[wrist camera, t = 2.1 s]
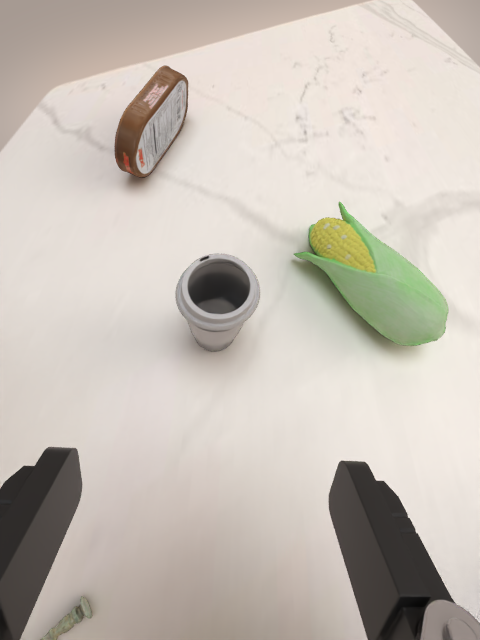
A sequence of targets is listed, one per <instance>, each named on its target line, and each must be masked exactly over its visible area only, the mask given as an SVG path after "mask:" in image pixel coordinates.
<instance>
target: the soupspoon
mask: <svg viewBox="0 0 480 640" xmlns="http://www.w3.org/2000/svg"><path fill="white" fill-rule="evenodd" d="M83 616H86V617H87V618H89V619H90V618H92V612H91V609H90V606H89V604H88V602H87V600H86V599H85V598H84V597H83V596H81V600H80V606H79V607H77V606H76V607H74V608H73V610H72V611H71V613H70V614H68V615H67V616H65V617H64V618H63V619H62V620H61V621H60V622H59V624H58V626H57V627H55V628H51V629H50V630H49V633H48V634H47V635H46V636H44V637H43V638H42V639H41V640H57V638H58V636H59V635H61V634H63V633H65V632H67V631H69V630H70V629H71V628H72V627H73V626H74V624H76V623H79V622H81V621H82V619H83Z"/></svg>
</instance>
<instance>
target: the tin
mask: <svg viewBox="0 0 480 640" xmlns="http://www.w3.org/2000/svg"><path fill="white" fill-rule="evenodd" d="M187 107H188V80H187V78H186V77H185V76H184V75H182V74H181V73H179V72H177V71H174V70H172V69H171V68H170V67H168V66H162V67H161V68H159V69H158V71H157V72H156V73H155V74H154V75H153V77H152V78H151V79H150V80H149V81H148V83H147V84H146V85H145V86H144V88H143V89H142V90H141V91H140V92H139V94H138V95H137V96H136V97H135V98H134V99H133V101H132V102H131V103H130V104H129V105H128V107H127V108H126V109H125V111H124V113H123V115H122V117H121V119H120V122H119V125H118V129H117V132H116V138H115V158H116V162H117V165H118V166H119V168H120V169H121V170H122V171H125V172H129V173H131V174H133V175H135V176H138V177H146V176H148V175H149V174H150V173H151V172H152V171H153V170H154V168H155V167H156V166H157V164H158V163H159V161H160V160H161V159H162V157H163V156H164V154H165V153H166V152H167V150H168V149H169V147H170V146H171V144H172V143H173V141H174V140H175V139H176V137H177V136H178V134H179V132H180V130H181V128H182V126H183V123H184V120H185V117H186V113H187Z"/></svg>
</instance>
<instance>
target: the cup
mask: <svg viewBox="0 0 480 640" xmlns="http://www.w3.org/2000/svg"><path fill="white" fill-rule="evenodd" d="M259 299H260V287H259V282H258V280H257V277H256V275H255V274H254V272H253V271H252V270H251V269H250V268H249V267H248V266H247V265H246V264H245V263H244V262H243V261H241V260H240V259H238V258H236V257H234V256H231V255H227V254H210V255H206V256H203V257H201V258H199V259H197V260H196V261H195V262H193V263H192V264H191V265H190V266H189V267H188V268H187V269H186V270H185V271H184V273H183V274H182V276H181V277H180V279H179V281H178V284H177V287H176V303H177V306H178V308H179V310H180V312H181V314H182V315H183V316H184V317H185V318H186V319H187V321H188V324H189V326H190V329H191V332H192V334H193V335H194V336H195V339H196V341H197V343H198V344H199V345H200V346H201V347H202V348H204V349H206V350H209V351H220V350H223V349H225V348H227V347H228V346H229V345H230V344H231V343H232V341H233V339H234V338H235V337H236V335H237V334H238V333H239V331H240V329H241V327H242V325H243V323H244V322H245V321H246V320H247V319H248V318H250V316H251V315H252V314H253V313H254V311H255V310H256V308H257V306H258V303H259Z"/></svg>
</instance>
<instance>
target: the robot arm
mask: <svg viewBox="0 0 480 640" xmlns="http://www.w3.org/2000/svg"><path fill="white" fill-rule="evenodd" d="M81 492H82V478H81V471H80V464H79V456H78V451H77V449H76V448H61V447H48V448H47V449H46V450H45V451H44V452H43V454H42V455H41V457H40V458H39V460H38V462H37V463H36V465H35V466H23V467H22V468H21V469H20V470H19V471H17V472H16V473H15V474H14V475H12V476H11V477H10V478H9V479H8V480H6V481H5V483H4V484H3V486H2V487H1V488H0V640H20V638H21V636H22V633H23V631H24V629H25V626H26V624H27V622H28V619H29V617H30V615H31V613H32V610H33V608H34V606H35V603H36V601H37V599H38V596H39V594H40V592H41V590H42V587H43V585H44V583H45V580H46V578H47V576H48V573H49V571H50V569H51V567H52V564H53V562H54V560H55V557H56V555H57V553H58V550H59V548H60V546H61V544H62V541H63V539H64V537H65V534H66V532H67V530H68V527H69V525H70V523H71V521H72V518H73V516H74V514H75V511H76V509H77V507H78V504H79V501H80V497H81ZM329 511H330V515H331V519H332V522H333V525H334V529H335V532H336V535H337V539H338V542H339V545H340V548H341V552H342V555H343V558H344V562H345V565H346V568H347V572H348V575H349V578H350V582H351V585H352V588H353V592H354V595H355V598H356V601H357V605H358V608H359V611H360V615H361V618H362V621H363V625H364V628H365V631H366V635H367V638H368V640H480V623H479V622H478V621H477V620H476V619H475V618H474V617H473V616H472V615H471V614H470V613H469V612H468V611H466V610H465V609H463V608H462V607H460V606H459V605H457V604H456V603H455V602H454V601H453V599H452V598H451V596H450V594H449V593H448V591H447V589H446V587H445V585H444V583H443V581H442V579H441V577H440V575H439V573H438V572H437V570H436V568H435V566H434V564H433V562H432V560H431V558H430V556H429V554H428V553H427V551H426V549H425V547H424V545H423V543H422V541H421V539H420V537H419V535H418V533H416V532H415V528H414V526H413V524H412V522H411V520H410V518H408V516H407V515H408V514H407V512H406V511H405V509H404V507H403V505H402V503H401V501H400V499H399V497H398V496H397V495H396V494H395V493H394V492H393V490H392V489H391V488H390V487H389V486H388V485H387V484H386V483H385V482H384V481H376V480H375V478H374V476H373V474H372V472H371V470H370V468H369V466H368V464H367V463H366V462H358V461H340V462H339V464H338V467H337V470H336V473H335V477H334V480H333V483H332V486H331V489H330V493H329Z"/></svg>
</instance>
